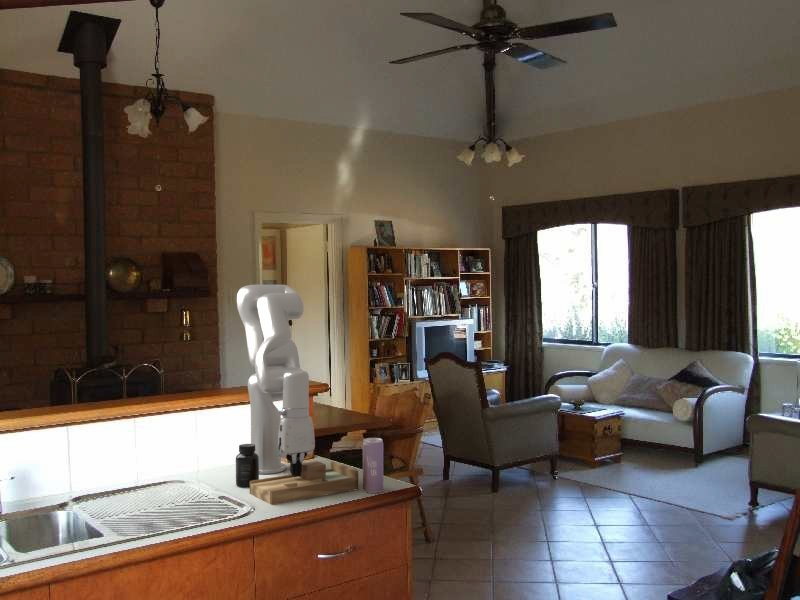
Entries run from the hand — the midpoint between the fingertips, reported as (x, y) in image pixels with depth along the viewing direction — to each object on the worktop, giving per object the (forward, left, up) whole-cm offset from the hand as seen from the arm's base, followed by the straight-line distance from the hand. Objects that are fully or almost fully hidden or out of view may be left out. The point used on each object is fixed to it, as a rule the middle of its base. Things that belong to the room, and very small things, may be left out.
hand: (296, 475), depth 238 cm
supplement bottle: (-13, -9, -4) cm, 17 cm away
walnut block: (+1, +5, -1) cm, 5 cm away
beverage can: (+14, +18, -4) cm, 23 cm away
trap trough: (+3, +1, -4) cm, 5 cm away
